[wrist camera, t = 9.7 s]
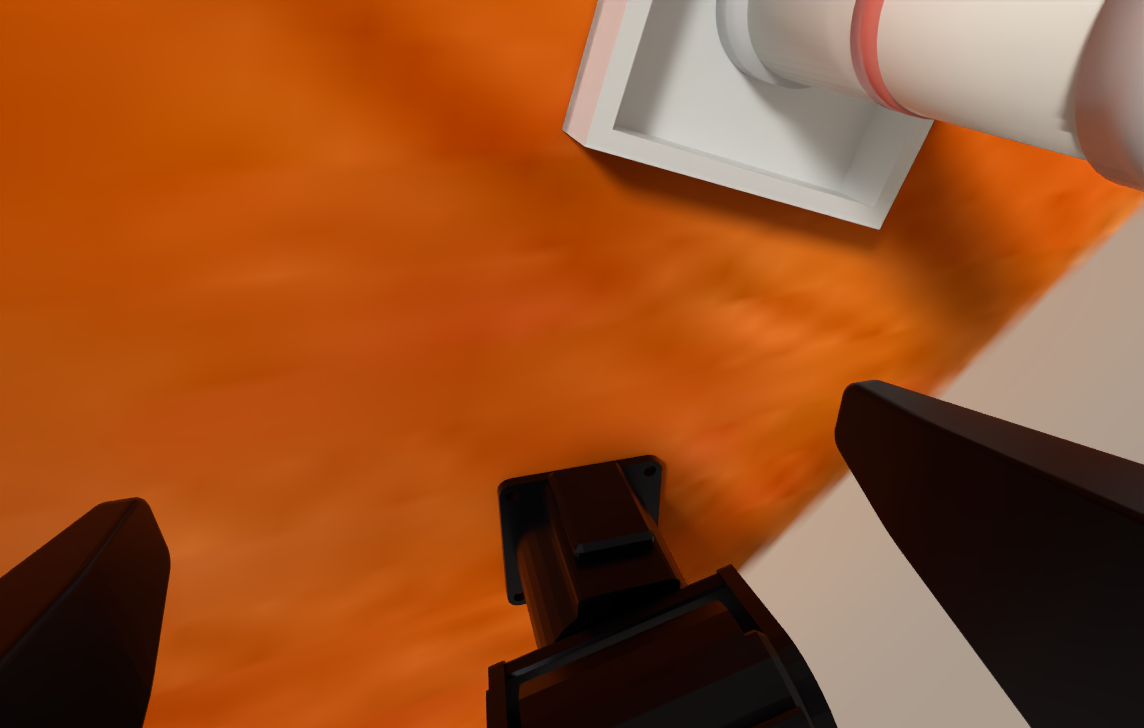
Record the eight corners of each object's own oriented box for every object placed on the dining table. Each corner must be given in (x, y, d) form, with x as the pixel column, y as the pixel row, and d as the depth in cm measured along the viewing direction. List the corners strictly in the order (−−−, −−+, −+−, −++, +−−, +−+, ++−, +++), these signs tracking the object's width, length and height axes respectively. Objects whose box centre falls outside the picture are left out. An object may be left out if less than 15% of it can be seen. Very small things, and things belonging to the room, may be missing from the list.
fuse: (852, 58, 20) (1416, 163, 9) (723, 99, 20) (1147, 259, 9) (852, -109, 18) (1610, -236, 7) (707, -65, 17) (1254, -126, 6)
